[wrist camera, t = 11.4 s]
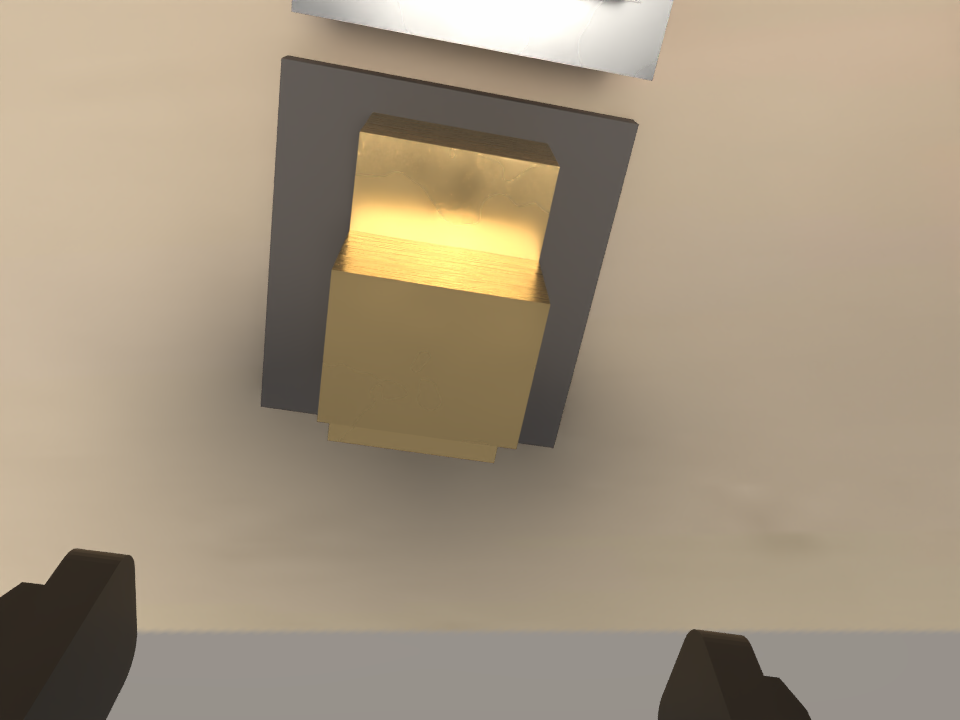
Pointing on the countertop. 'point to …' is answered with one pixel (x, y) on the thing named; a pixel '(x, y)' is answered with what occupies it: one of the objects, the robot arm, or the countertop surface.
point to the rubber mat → (328, 204)
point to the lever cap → (438, 290)
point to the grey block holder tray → (523, 27)
